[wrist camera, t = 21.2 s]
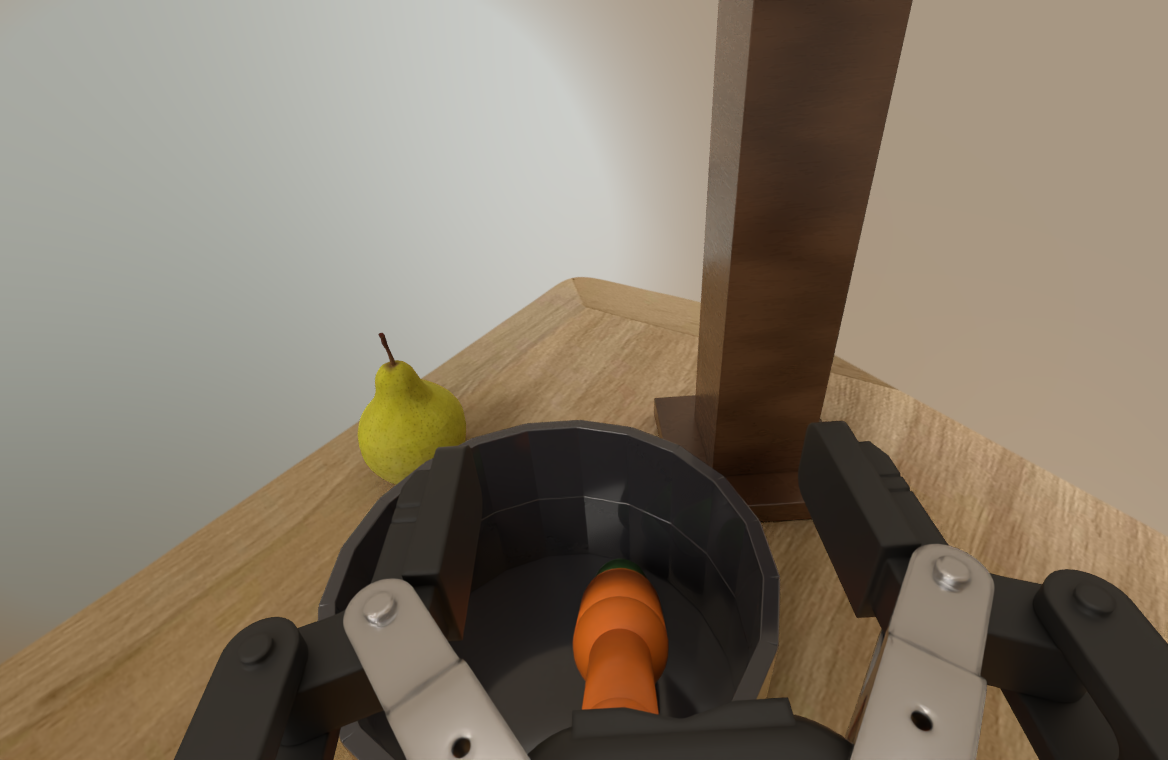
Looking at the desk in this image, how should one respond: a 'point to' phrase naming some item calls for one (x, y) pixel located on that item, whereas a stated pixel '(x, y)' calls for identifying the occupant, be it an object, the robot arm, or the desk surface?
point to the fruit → (407, 421)
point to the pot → (590, 573)
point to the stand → (782, 229)
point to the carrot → (620, 639)
